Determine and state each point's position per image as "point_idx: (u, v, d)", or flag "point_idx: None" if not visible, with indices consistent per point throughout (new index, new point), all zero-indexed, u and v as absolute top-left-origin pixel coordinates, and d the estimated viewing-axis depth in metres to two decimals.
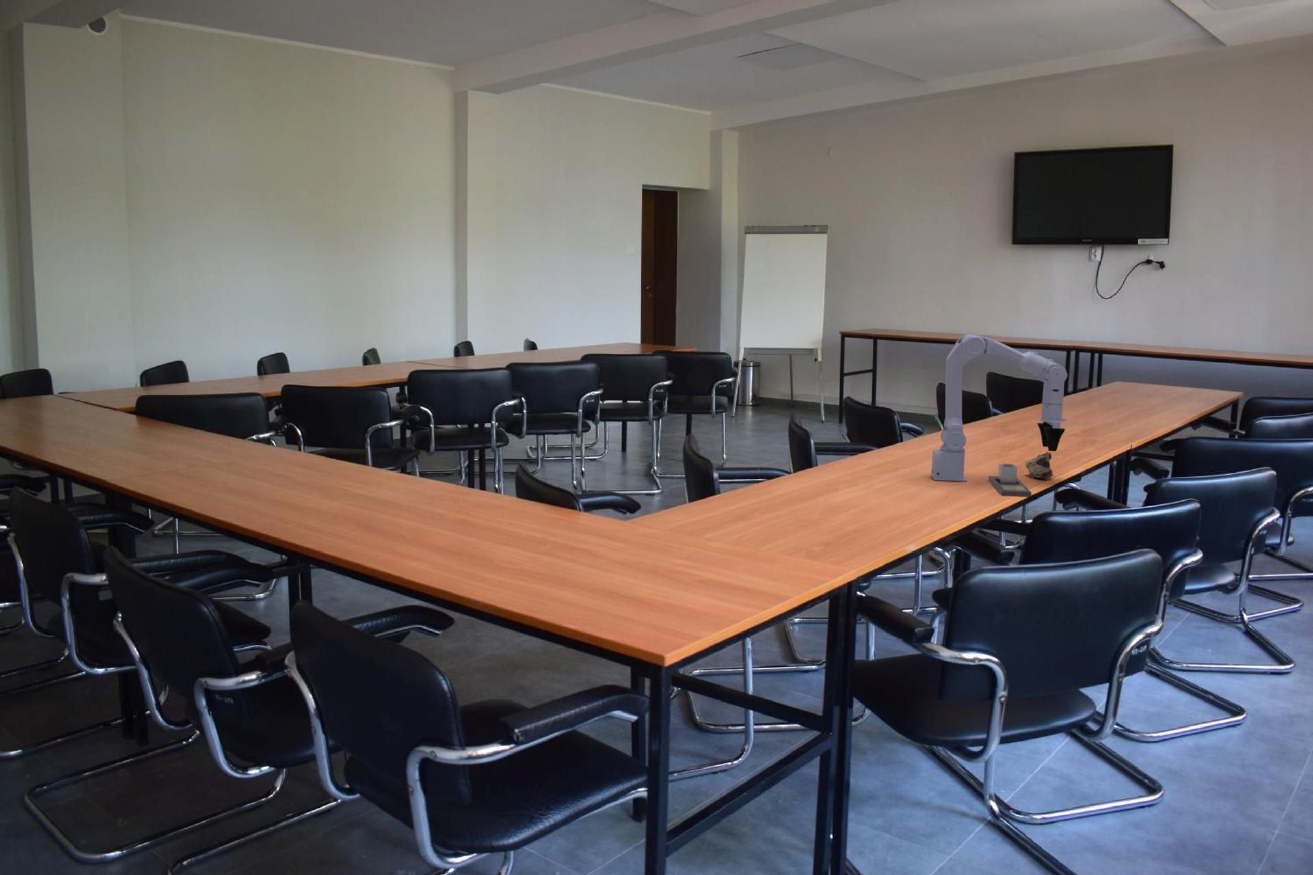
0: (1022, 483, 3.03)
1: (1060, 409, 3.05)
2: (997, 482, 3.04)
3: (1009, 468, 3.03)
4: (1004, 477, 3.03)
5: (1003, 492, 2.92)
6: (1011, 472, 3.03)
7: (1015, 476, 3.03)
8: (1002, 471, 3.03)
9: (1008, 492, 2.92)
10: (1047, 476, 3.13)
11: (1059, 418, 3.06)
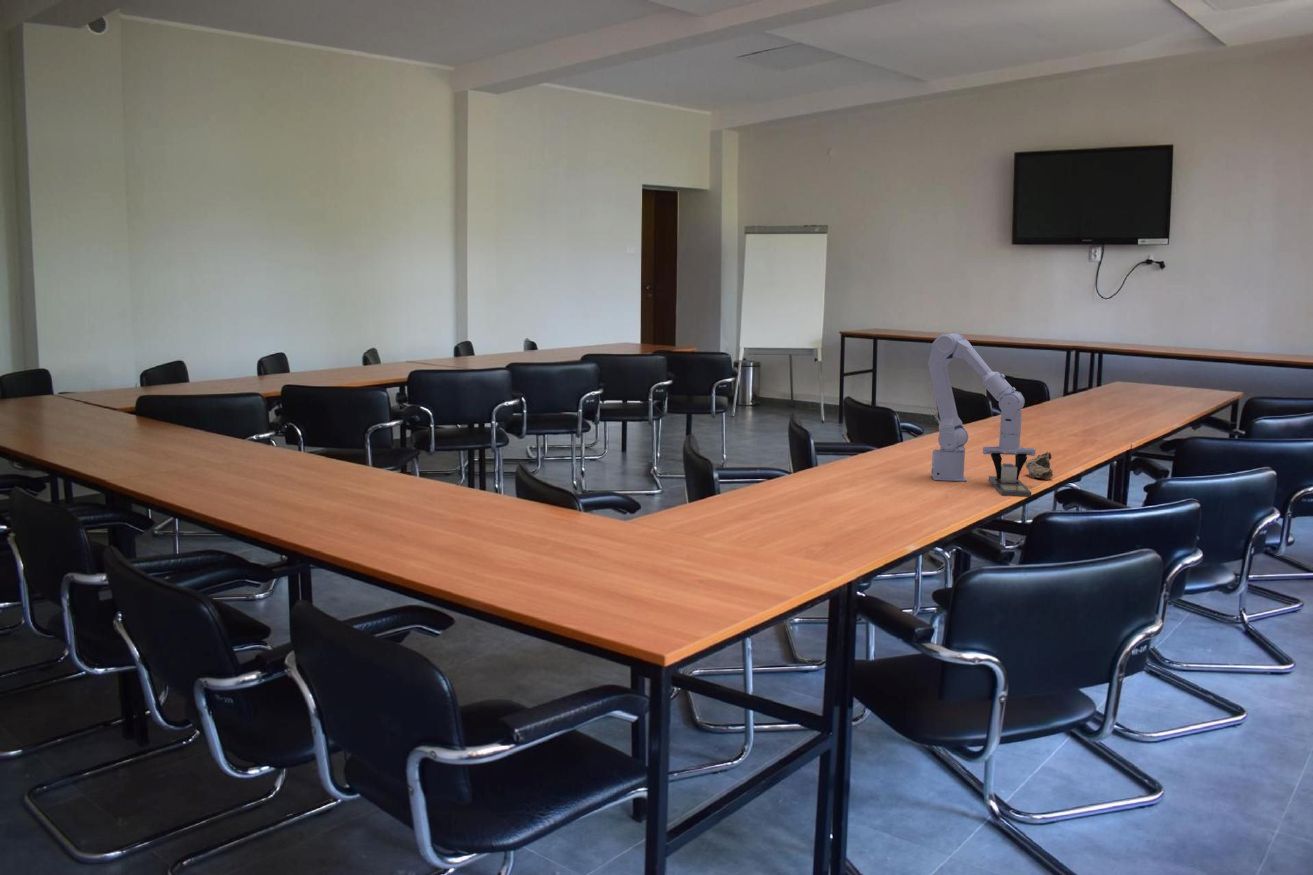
0: (1022, 483, 3.03)
1: (1003, 438, 3.02)
2: (997, 482, 3.04)
3: (1009, 468, 3.03)
4: (1004, 477, 3.03)
5: (1003, 492, 2.92)
6: (1011, 472, 3.03)
7: (1015, 476, 3.03)
8: (1002, 471, 3.03)
9: (1008, 492, 2.92)
10: (1047, 476, 3.13)
11: (1002, 447, 3.02)
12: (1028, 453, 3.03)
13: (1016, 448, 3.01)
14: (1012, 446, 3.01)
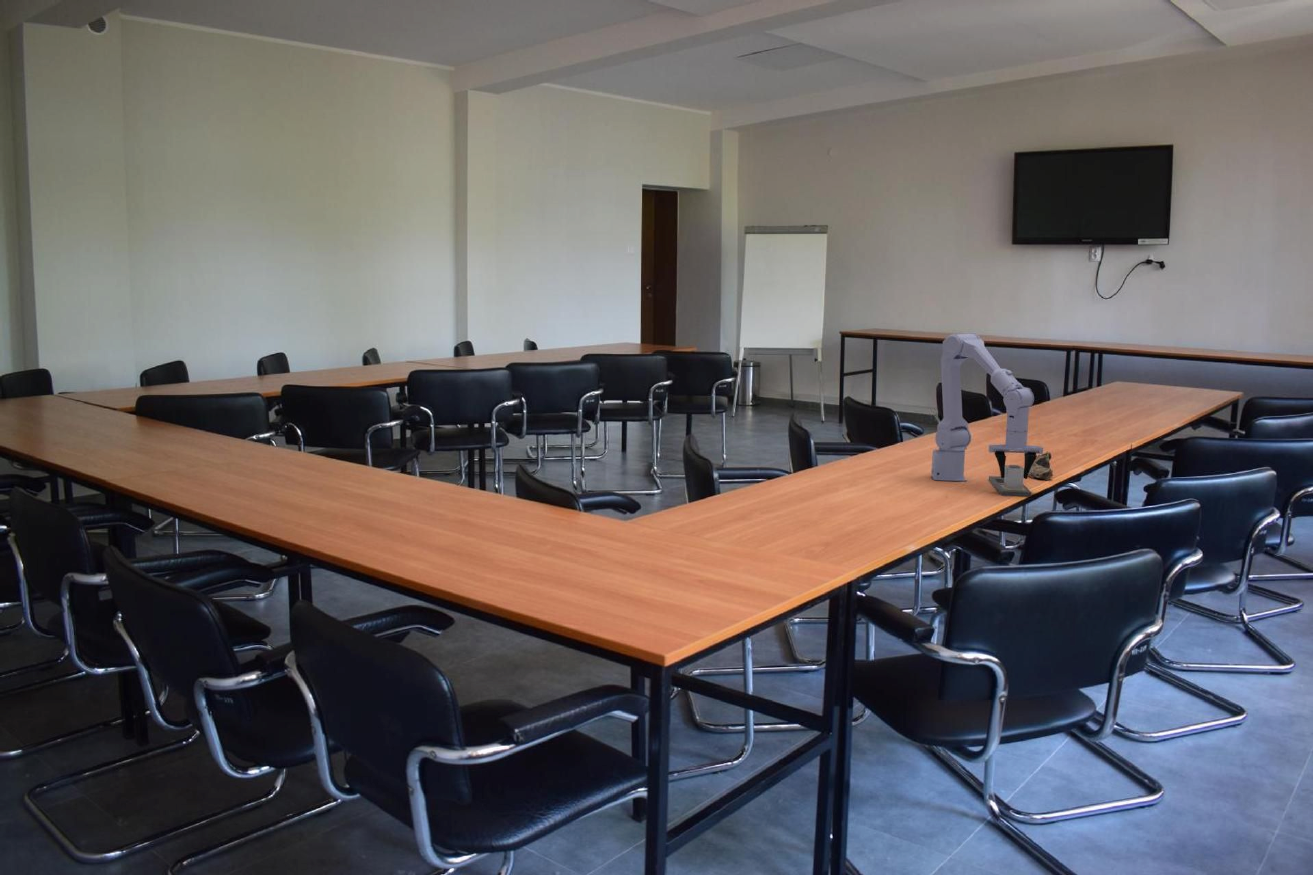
0: None
1: (1010, 436, 2.92)
2: (997, 482, 3.04)
3: (1015, 469, 2.93)
4: (1010, 479, 2.94)
5: (1003, 492, 2.92)
6: (1017, 474, 2.94)
7: (1022, 478, 2.94)
8: (1008, 472, 2.94)
9: (1008, 492, 2.92)
10: (1047, 476, 3.13)
11: (1009, 445, 2.93)
12: (1035, 451, 2.93)
13: (1023, 446, 2.92)
14: (1019, 444, 2.91)
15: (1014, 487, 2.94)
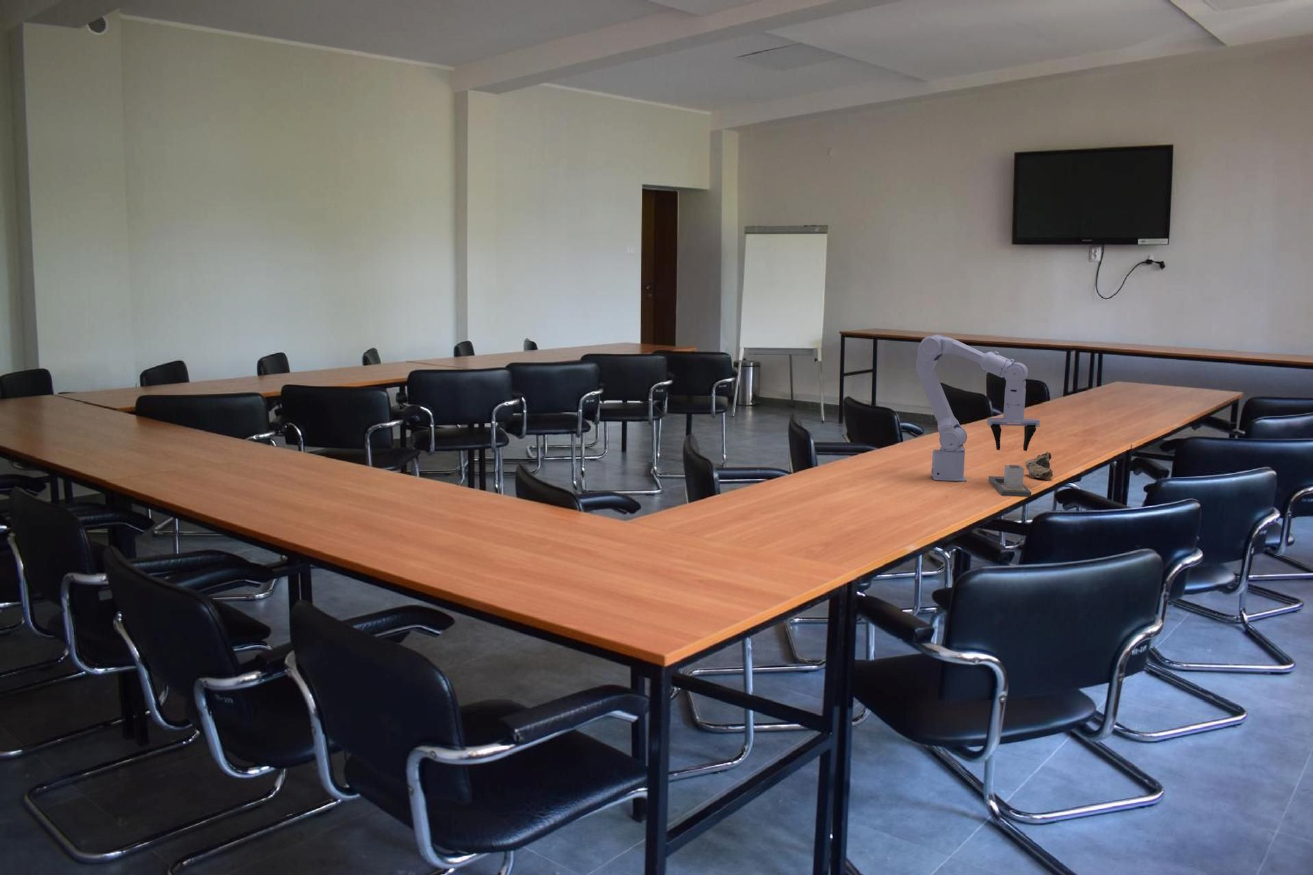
0: None
1: (1008, 409, 3.02)
2: (997, 482, 3.04)
3: (1015, 469, 2.93)
4: (1010, 479, 2.94)
5: (1003, 492, 2.92)
6: (1017, 474, 2.94)
7: (1022, 478, 2.94)
8: (1008, 472, 2.94)
9: (1008, 492, 2.92)
10: (1047, 476, 3.13)
11: (1006, 418, 3.02)
12: (1032, 424, 3.03)
13: (1020, 419, 3.01)
14: (1016, 417, 3.01)
15: (1014, 487, 2.94)
